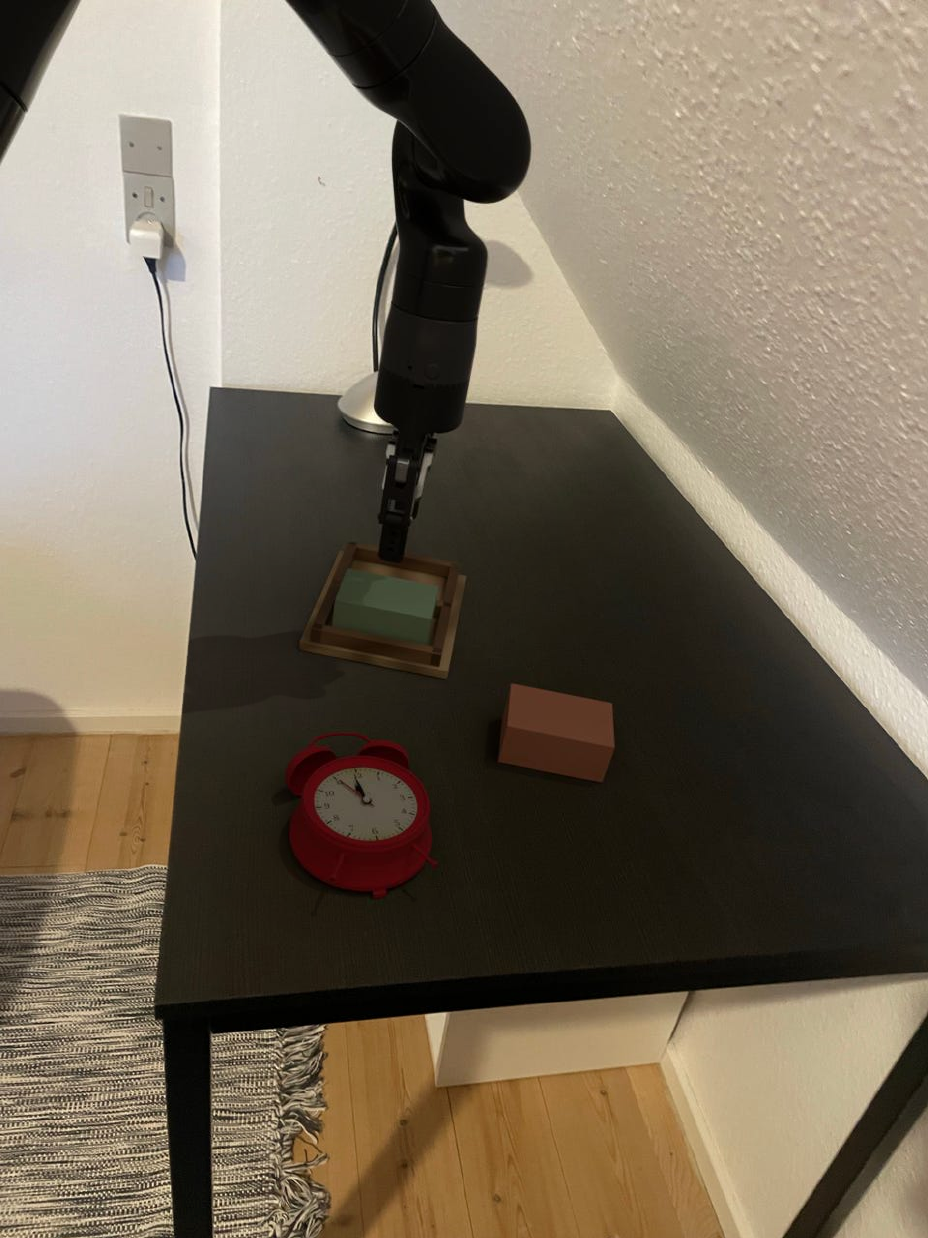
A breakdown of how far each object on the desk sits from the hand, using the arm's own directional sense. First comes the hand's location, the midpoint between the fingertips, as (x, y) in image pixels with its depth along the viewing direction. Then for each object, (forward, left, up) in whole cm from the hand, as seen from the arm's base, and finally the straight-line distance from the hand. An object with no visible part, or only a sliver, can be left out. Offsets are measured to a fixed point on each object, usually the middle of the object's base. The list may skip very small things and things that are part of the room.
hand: (397, 537), depth 86 cm
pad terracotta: (+17, -12, -11) cm, 23 cm away
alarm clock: (+2, -25, -11) cm, 27 cm away
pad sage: (0, 0, -10) cm, 10 cm away
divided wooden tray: (0, +4, -11) cm, 12 cm away
